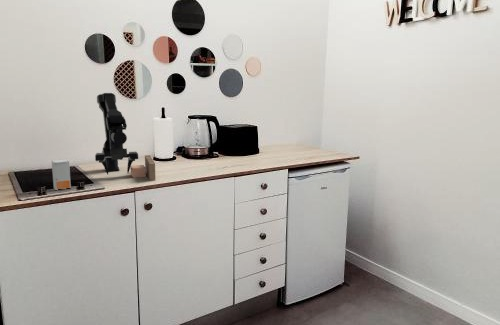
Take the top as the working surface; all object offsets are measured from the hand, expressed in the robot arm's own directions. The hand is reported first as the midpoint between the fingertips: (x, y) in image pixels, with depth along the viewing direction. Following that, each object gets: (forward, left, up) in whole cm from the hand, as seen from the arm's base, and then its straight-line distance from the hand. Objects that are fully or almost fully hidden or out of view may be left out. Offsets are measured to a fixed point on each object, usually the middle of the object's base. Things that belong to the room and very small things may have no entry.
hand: (118, 174), depth 172 cm
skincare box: (+14, -22, -2) cm, 26 cm away
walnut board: (0, +15, -2) cm, 15 cm away
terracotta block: (0, +9, -2) cm, 9 cm away
